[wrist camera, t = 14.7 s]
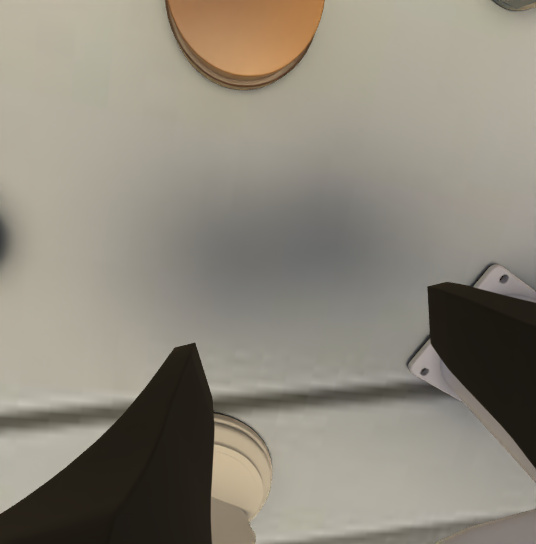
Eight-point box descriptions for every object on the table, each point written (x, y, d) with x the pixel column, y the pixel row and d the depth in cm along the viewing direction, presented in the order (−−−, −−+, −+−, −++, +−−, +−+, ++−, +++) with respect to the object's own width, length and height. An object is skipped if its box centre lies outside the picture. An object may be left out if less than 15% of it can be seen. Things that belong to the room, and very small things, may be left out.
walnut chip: (338, -8, 17) (350, -20, 16) (261, 118, 18) (266, 117, 17) (217, -116, 15) (217, -141, 14) (142, 32, 17) (135, 23, 15)
